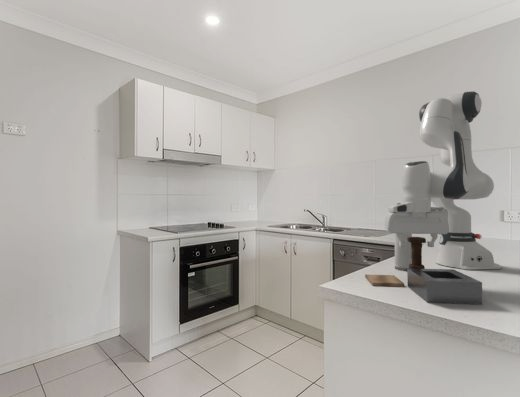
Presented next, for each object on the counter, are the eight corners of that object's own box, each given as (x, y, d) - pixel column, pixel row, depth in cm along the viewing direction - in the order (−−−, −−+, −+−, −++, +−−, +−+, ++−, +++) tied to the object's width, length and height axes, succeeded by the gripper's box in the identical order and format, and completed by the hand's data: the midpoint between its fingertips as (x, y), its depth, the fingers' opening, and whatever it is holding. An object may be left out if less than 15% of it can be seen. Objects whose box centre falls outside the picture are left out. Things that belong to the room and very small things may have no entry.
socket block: (453, 288, 91) (453, 269, 91) (482, 304, 77) (482, 282, 77) (407, 286, 92) (407, 268, 92) (427, 302, 79) (426, 280, 79)
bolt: (427, 283, 96) (427, 238, 96) (411, 282, 97) (411, 238, 97) (421, 278, 102) (421, 236, 102) (406, 277, 103) (406, 236, 103)
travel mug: (390, 267, 118) (390, 219, 118) (405, 266, 119) (405, 219, 119) (399, 271, 112) (399, 220, 112) (415, 270, 112) (415, 220, 112)
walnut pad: (393, 278, 102) (393, 275, 102) (404, 286, 93) (404, 283, 93) (365, 277, 104) (365, 274, 104) (372, 285, 94) (372, 282, 94)
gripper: (443, 207, 101) (443, 245, 101) (383, 206, 104) (383, 244, 104) (452, 207, 95) (453, 248, 95) (389, 207, 98) (389, 247, 98)
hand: (416, 246), depth 99 cm, fingers open, 8 cm apart
